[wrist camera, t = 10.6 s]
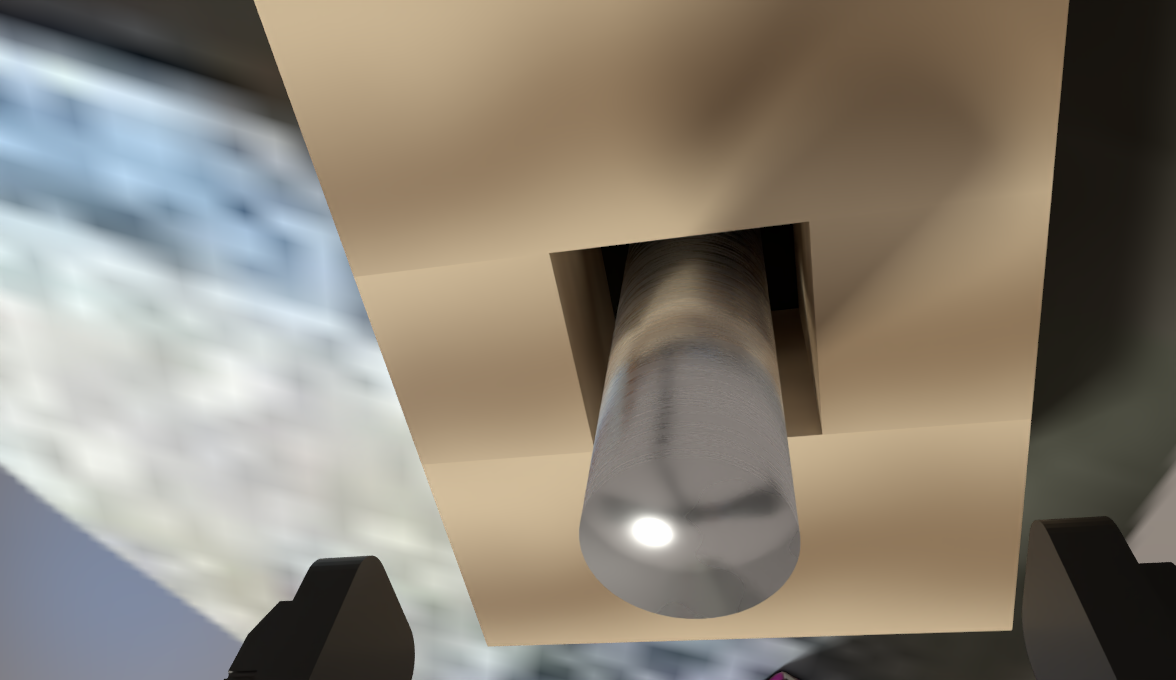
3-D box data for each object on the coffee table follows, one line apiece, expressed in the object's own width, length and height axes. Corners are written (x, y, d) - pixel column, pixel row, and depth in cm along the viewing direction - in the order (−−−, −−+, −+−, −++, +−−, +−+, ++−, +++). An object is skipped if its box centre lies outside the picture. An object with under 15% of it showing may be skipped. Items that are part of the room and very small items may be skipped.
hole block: (348, -89, 17) (233, -57, 13) (981, -224, 15) (1090, -237, 11) (524, 506, 25) (487, 646, 21) (955, 479, 23) (1011, 630, 19)
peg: (621, 185, 20) (559, 465, 11) (754, 167, 19) (792, 449, 11) (641, 298, 21) (600, 622, 13) (765, 285, 21) (806, 615, 12)
